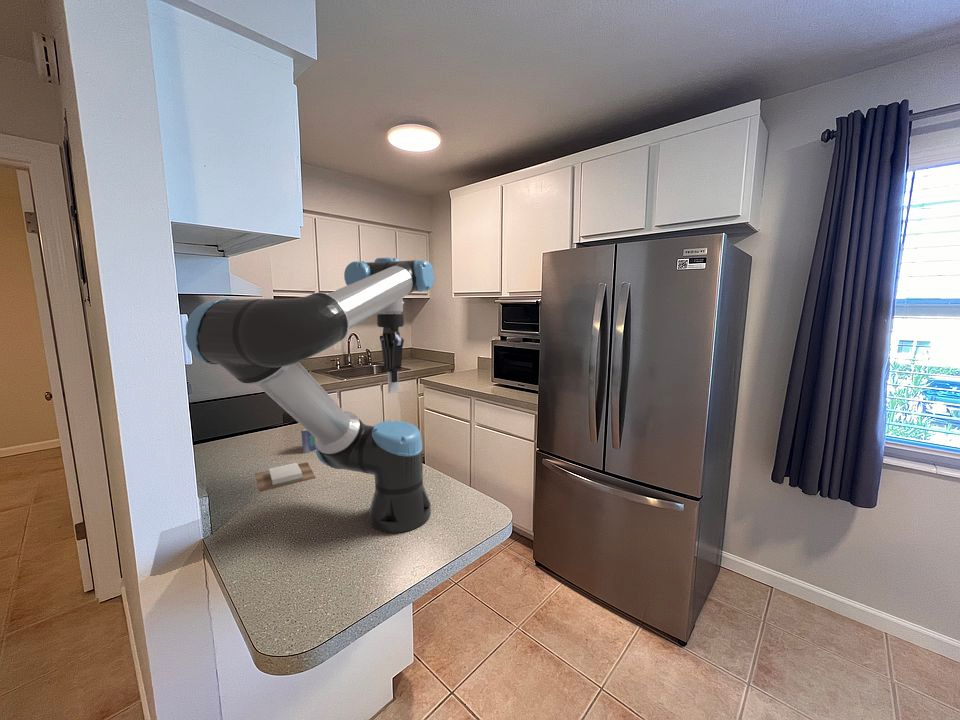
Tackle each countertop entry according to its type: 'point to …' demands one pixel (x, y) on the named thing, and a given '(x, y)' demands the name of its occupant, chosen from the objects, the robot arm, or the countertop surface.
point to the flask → (307, 441)
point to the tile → (285, 473)
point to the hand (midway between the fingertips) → (393, 392)
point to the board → (266, 483)
